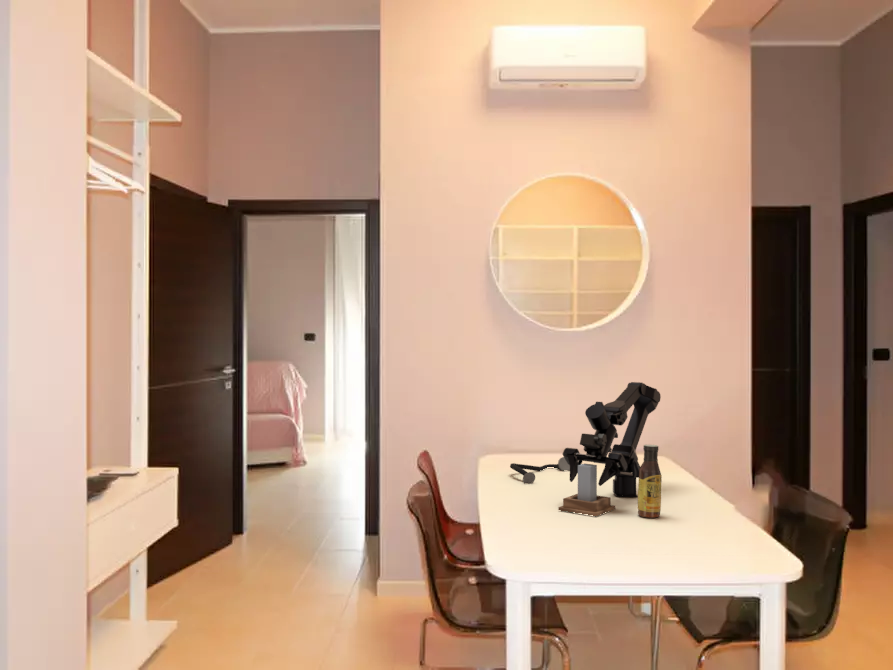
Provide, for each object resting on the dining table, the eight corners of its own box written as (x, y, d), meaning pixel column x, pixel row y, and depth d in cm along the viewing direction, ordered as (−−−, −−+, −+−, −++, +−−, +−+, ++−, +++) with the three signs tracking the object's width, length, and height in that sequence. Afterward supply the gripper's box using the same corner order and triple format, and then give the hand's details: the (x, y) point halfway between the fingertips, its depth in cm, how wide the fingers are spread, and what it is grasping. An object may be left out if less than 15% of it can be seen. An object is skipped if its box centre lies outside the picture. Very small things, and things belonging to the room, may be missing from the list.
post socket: (578, 503, 233) (578, 491, 233) (615, 509, 226) (615, 497, 226) (558, 510, 224) (558, 498, 224) (596, 517, 216) (596, 504, 216)
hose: (530, 485, 261) (530, 469, 261) (493, 481, 269) (494, 464, 269) (573, 471, 289) (573, 456, 289) (538, 467, 297) (539, 452, 297)
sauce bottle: (648, 519, 213) (648, 447, 213) (632, 515, 219) (633, 444, 219) (666, 517, 216) (666, 446, 216) (650, 512, 222) (651, 443, 222)
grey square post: (584, 504, 228) (584, 463, 227) (596, 506, 225) (596, 465, 225) (577, 506, 224) (577, 465, 224) (590, 508, 222) (590, 466, 222)
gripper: (565, 420, 233) (546, 462, 225) (623, 425, 222) (605, 469, 213) (578, 443, 240) (560, 485, 231) (634, 449, 228) (618, 493, 220)
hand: (584, 483), depth 224 cm, fingers open, 9 cm apart
